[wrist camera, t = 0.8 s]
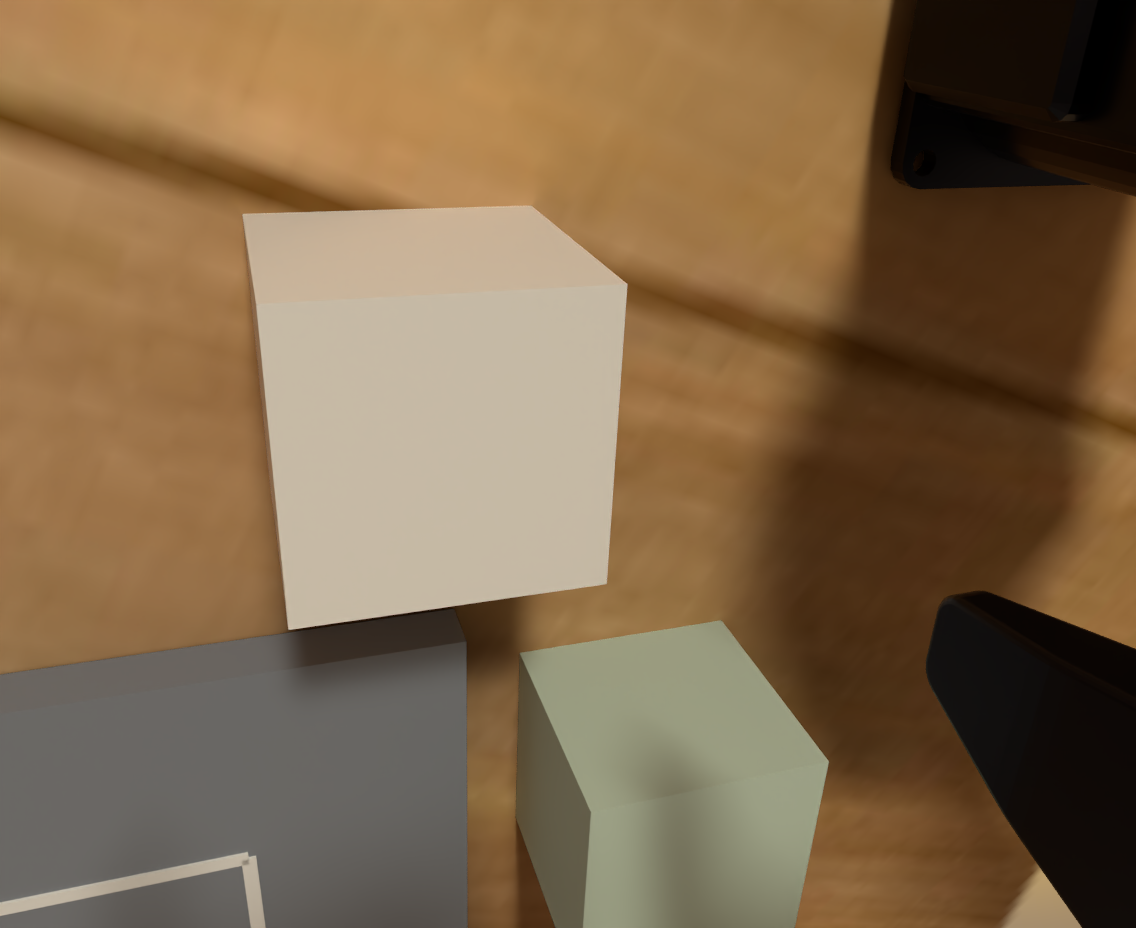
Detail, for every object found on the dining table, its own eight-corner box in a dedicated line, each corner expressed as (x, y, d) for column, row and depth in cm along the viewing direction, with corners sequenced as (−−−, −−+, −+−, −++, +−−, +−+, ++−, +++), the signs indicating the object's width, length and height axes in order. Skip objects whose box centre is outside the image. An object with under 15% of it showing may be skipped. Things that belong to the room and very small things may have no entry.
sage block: (719, 618, 24) (828, 761, 20) (699, 776, 27) (793, 933, 22) (518, 651, 23) (591, 812, 19) (514, 814, 25) (578, 991, 21)
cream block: (529, 204, 19) (627, 284, 14) (523, 451, 21) (606, 583, 17) (241, 212, 17) (255, 304, 13) (269, 477, 19) (288, 629, 15)
